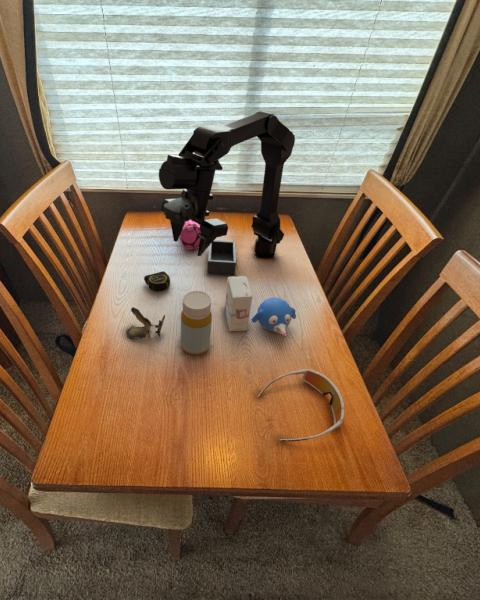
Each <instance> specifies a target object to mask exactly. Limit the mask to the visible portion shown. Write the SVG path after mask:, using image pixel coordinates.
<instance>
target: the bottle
mask: <svg viewBox="0 0 480 600" xmlns="http://www.w3.org/2000/svg"><path fill="white" fill-rule="evenodd" d="M211 309H212V298H211V296H210V295H209V294H208V293H207V292H205V291H201V290H192V291H189V292H187V293H186V294H184V296H183V298H182V311H181V312H180V346H181V349H182V350H183V352H185V353H186V354H189V355H192V356H199V355H203V354H204V353H206V352H207V351H208V350H209V348H210V344H211V333H212V321H213V320H212V318H213V314H212V311H211Z"/></svg>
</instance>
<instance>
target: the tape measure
mask: <svg viewBox="0 0 480 600" xmlns="http://www.w3.org/2000/svg"><path fill="white" fill-rule="evenodd" d="M143 281H144V282H145V285H146V286H147V287H148V289H149V290H150V291H151V292H153V293H162V292H165V291H167V290H169V288H170V287H171V277H170V275H169V274H167V272H166V271H158V272H154V273H150V274H147V275H146V274H145V275H144V277H143Z"/></svg>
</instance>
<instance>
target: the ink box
mask: <svg viewBox="0 0 480 600" xmlns="http://www.w3.org/2000/svg"><path fill="white" fill-rule="evenodd" d="M225 289H226V290H225V300H224V314H225V319H226V322H227V323H226V324H227V328H228V331H229V332H244V331H248V327H249V320H250V316H251V315H250V314H251V308H252V302H253V296H254V295H253V293H252V289H251V286H250V284H249V280H248V278H247V276H246V275H235V276H228V277H227V280H226V288H225Z"/></svg>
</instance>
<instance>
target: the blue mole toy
mask: <svg viewBox="0 0 480 600" xmlns="http://www.w3.org/2000/svg"><path fill="white" fill-rule="evenodd" d="M292 319H293V320H295V319H297V314H296V309H295V308H294V307H291V306H290V304H289V303H288V302H287V301H286V300H285V299H283V298H280V297H269V298H266V299H264V300H263V301H262V302H261V303H260V304H259V306H258V308H257V311H256V314H255V315H254V316H253V317H252V318H251V322H252V323H253V324H256V323H257V322H259V324H260V326H261V327H262V328H263V329H265V330H266V331H270V332H275V333H278V334H281V335H282V336H283V337H284V338H286V337H287V336H288V334H287V331H286V328H288V326H290V324H291V322H292Z"/></svg>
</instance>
